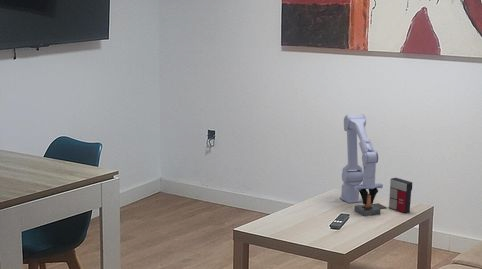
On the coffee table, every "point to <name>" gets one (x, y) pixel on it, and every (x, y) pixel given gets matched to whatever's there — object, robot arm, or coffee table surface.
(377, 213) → the chuck plate
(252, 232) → the coffee table surface
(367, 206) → the cylinder
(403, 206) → the red and grey box
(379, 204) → the mat
